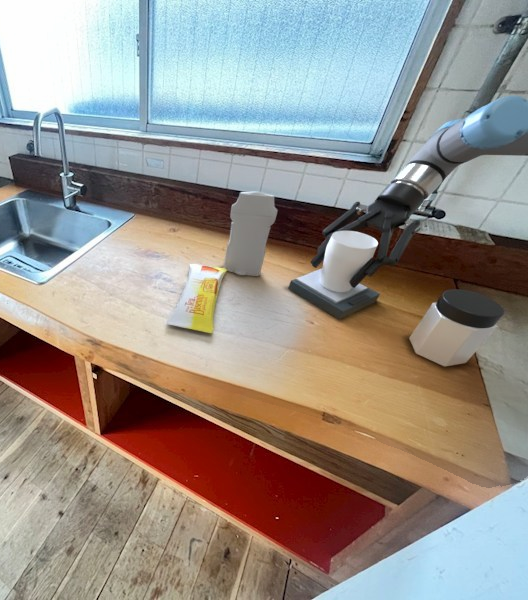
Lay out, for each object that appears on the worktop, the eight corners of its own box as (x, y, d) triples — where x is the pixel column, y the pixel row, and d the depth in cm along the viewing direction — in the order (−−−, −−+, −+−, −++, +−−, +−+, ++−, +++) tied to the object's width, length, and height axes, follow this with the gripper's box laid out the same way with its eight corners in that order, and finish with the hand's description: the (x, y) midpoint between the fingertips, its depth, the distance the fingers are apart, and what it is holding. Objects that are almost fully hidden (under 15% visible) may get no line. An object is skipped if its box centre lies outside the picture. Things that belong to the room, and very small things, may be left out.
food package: (212, 329, 67) (166, 320, 70) (211, 337, 68) (165, 328, 71) (227, 265, 87) (190, 259, 90) (226, 272, 88) (190, 266, 91)
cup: (361, 283, 77) (383, 237, 70) (350, 300, 72) (373, 253, 64) (321, 270, 82) (337, 226, 75) (308, 286, 77) (325, 240, 69)
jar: (436, 333, 67) (471, 286, 59) (476, 362, 60) (521, 313, 53) (397, 339, 66) (428, 291, 59) (434, 369, 59) (474, 320, 52)
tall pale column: (262, 271, 88) (282, 191, 75) (260, 279, 85) (281, 197, 72) (223, 264, 92) (235, 186, 79) (220, 271, 89) (232, 192, 76)
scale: (375, 302, 76) (381, 291, 74) (339, 319, 71) (344, 309, 69) (322, 274, 86) (326, 264, 84) (288, 288, 81) (291, 278, 79)
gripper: (466, 218, 64) (382, 305, 68) (360, 188, 79) (296, 260, 84) (469, 196, 59) (377, 292, 63) (354, 169, 74) (287, 247, 79)
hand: (331, 274), depth 73 cm, fingers closed on cup, 9 cm apart
